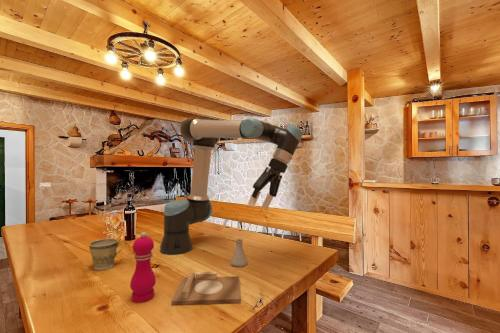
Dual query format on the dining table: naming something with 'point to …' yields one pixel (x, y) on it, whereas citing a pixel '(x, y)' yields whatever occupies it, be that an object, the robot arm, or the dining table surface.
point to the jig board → (207, 289)
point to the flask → (239, 255)
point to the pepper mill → (143, 270)
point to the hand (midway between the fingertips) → (257, 207)
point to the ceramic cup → (104, 252)
